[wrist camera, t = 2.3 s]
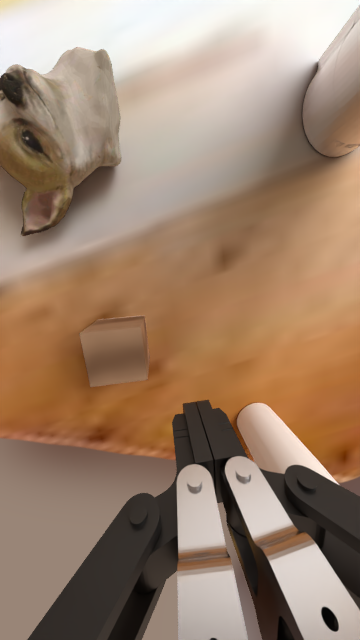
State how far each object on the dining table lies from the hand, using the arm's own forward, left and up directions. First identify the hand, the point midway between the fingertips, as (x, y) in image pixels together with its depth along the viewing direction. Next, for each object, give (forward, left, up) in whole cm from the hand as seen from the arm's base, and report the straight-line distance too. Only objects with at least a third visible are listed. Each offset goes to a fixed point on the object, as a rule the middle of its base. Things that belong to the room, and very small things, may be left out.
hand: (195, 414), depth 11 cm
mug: (+17, +13, -16) cm, 27 cm away
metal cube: (0, -7, -15) cm, 17 cm away
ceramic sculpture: (-20, -10, -16) cm, 27 cm away
